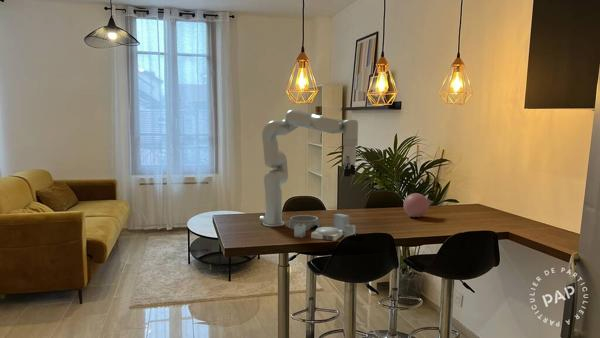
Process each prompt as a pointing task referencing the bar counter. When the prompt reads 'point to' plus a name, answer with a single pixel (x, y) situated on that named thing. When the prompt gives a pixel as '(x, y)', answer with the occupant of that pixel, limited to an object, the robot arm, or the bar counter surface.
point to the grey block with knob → (299, 230)
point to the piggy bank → (416, 205)
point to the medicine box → (341, 221)
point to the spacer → (349, 230)
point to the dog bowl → (304, 221)
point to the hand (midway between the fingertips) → (349, 175)
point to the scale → (327, 233)
